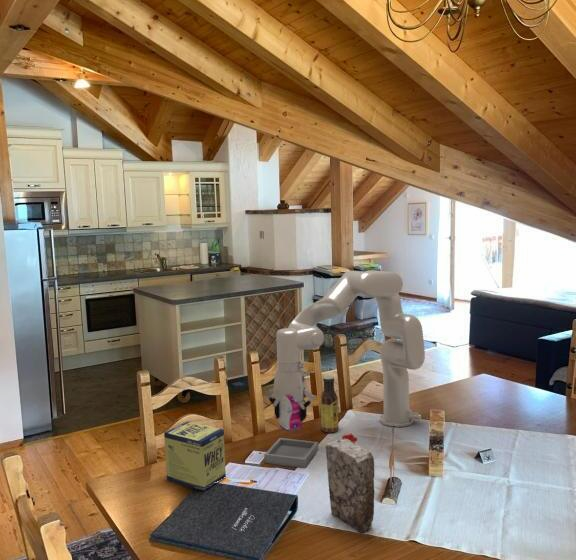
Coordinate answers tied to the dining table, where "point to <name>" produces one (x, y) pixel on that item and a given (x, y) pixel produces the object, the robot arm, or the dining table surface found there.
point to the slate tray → (291, 452)
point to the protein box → (195, 454)
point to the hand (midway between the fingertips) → (290, 418)
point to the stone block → (351, 483)
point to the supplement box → (289, 414)
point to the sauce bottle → (329, 406)
